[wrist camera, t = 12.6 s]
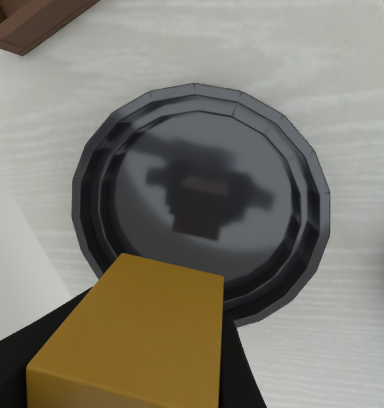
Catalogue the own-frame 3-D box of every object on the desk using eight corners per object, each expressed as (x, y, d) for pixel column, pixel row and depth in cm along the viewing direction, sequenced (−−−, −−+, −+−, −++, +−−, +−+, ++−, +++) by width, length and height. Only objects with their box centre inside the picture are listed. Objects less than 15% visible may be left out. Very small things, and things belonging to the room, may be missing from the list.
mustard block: (113, 332, 11) (28, 484, 6) (121, 251, 10) (23, 366, 5) (204, 356, 11) (184, 534, 6) (224, 275, 10) (218, 421, 5)
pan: (155, 324, 18) (144, 354, 16) (56, 156, 16) (25, 162, 13) (346, 265, 15) (367, 291, 13) (260, 41, 13) (267, 21, 10)
